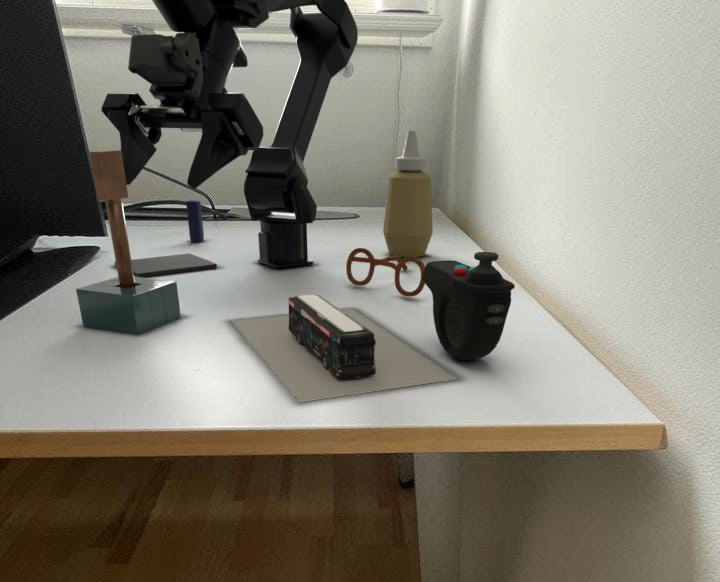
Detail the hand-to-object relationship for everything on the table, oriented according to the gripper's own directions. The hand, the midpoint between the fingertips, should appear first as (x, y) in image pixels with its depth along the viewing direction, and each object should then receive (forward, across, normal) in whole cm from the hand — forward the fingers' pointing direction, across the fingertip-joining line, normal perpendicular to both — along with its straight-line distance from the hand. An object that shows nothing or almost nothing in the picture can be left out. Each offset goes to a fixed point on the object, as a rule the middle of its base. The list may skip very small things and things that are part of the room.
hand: (156, 184), depth 73 cm
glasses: (-5, +23, +26) cm, 34 cm away
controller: (+12, +37, +7) cm, 40 cm away
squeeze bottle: (-18, +14, +40) cm, 46 cm away
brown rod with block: (+15, +1, +3) cm, 16 cm away
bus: (+14, +25, +4) cm, 29 cm away
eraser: (-15, -24, +36) cm, 46 cm away
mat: (-2, -15, +22) cm, 26 cm away
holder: (+15, +1, +3) cm, 16 cm away
